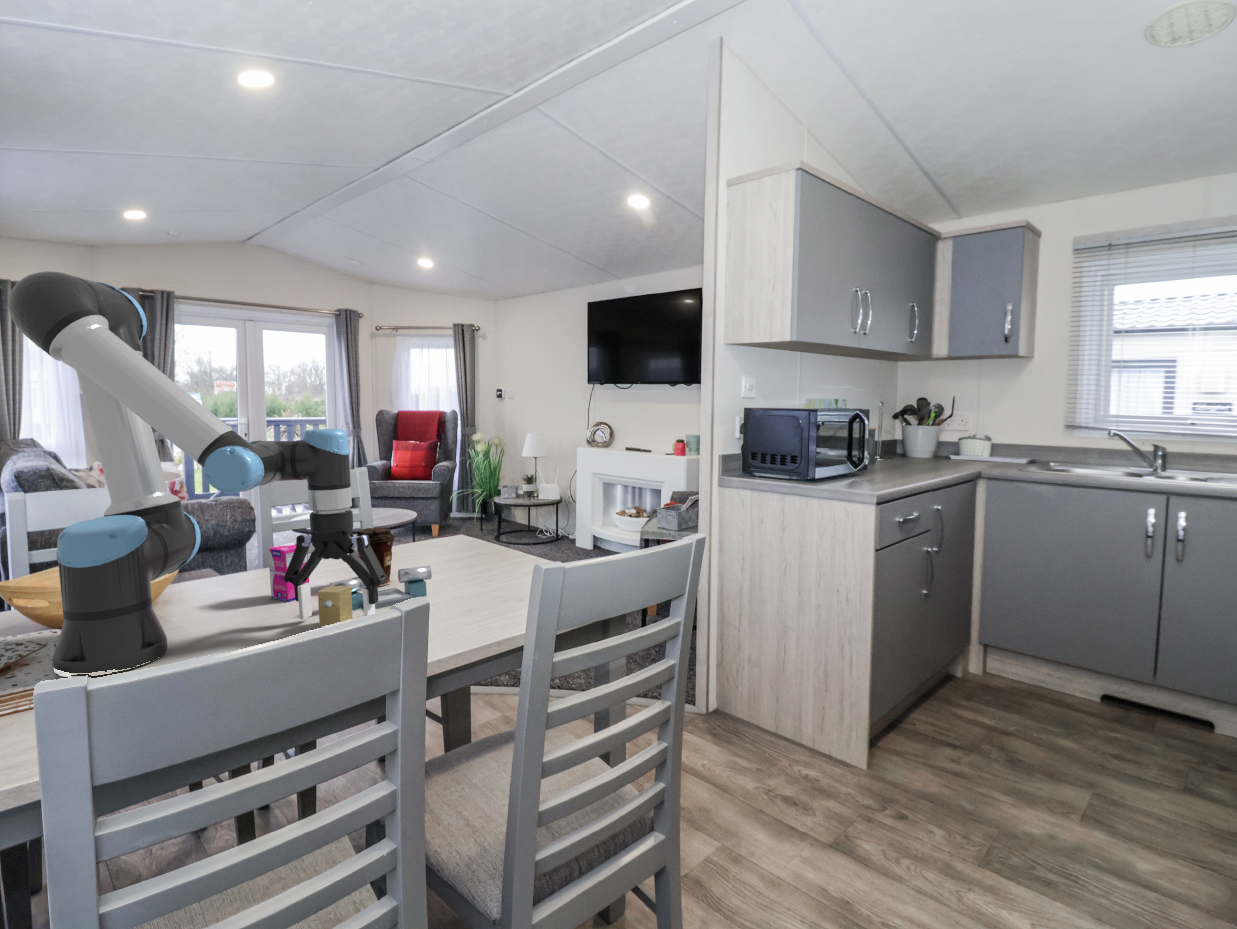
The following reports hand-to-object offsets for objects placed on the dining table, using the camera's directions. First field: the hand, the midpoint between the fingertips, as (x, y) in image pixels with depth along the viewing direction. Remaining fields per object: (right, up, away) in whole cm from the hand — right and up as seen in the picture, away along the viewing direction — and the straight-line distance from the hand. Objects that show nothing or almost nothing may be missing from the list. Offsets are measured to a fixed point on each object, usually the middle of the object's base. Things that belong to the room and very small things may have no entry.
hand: (337, 618), depth 127 cm
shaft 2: (+9, +1, +20) cm, 22 cm away
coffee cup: (-3, +1, +28) cm, 28 cm away
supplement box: (-18, 0, +18) cm, 25 cm away
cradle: (+3, 0, +15) cm, 15 cm away
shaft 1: (-2, 0, +10) cm, 10 cm away
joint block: (0, -1, 0) cm, 1 cm away
